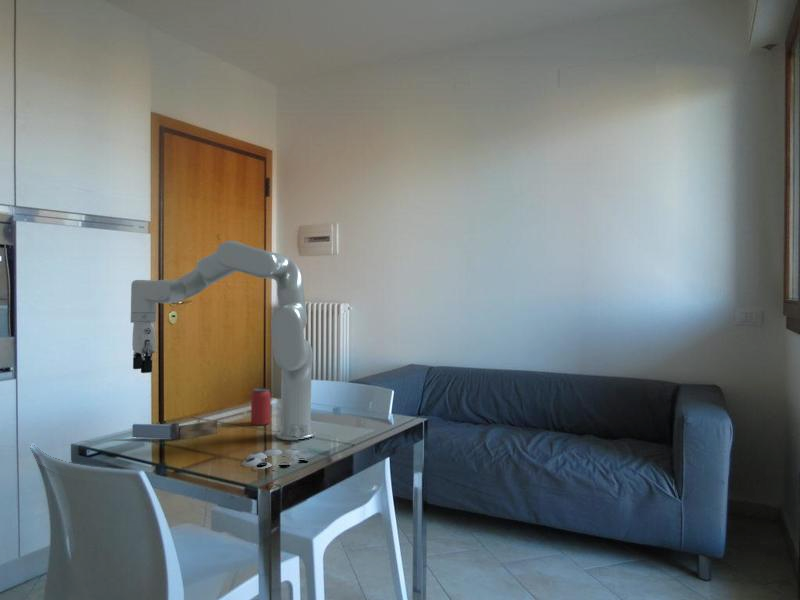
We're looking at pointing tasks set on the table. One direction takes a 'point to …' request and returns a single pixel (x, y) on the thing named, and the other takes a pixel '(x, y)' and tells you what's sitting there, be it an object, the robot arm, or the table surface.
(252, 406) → the beer can
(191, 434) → the hinge frame
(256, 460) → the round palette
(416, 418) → the table surface
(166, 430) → the hinged leaf
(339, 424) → the table surface
